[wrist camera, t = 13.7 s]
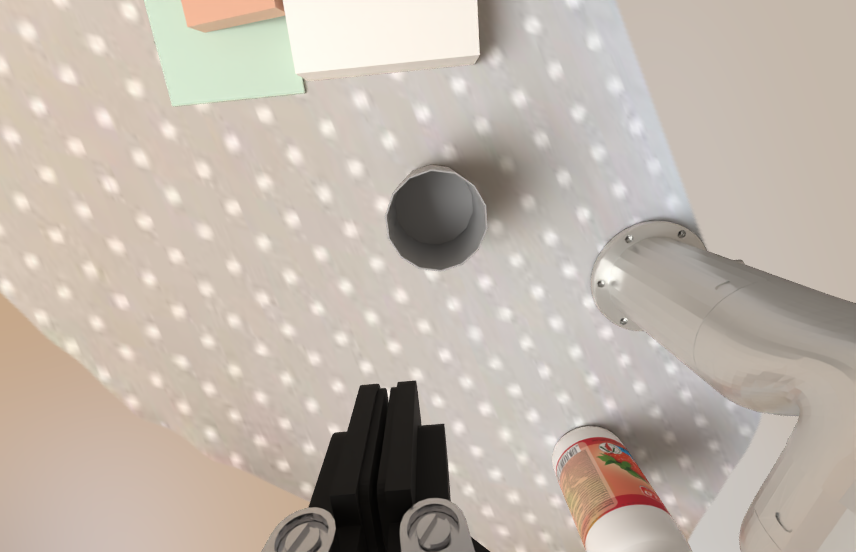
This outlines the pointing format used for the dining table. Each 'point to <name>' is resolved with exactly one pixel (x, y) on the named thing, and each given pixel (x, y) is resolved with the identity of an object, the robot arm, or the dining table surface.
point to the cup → (436, 218)
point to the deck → (380, 36)
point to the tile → (228, 13)
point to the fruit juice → (612, 496)
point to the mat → (222, 58)
